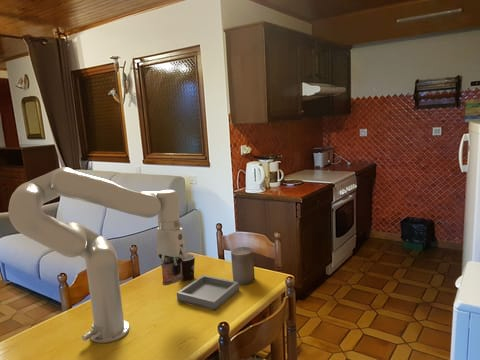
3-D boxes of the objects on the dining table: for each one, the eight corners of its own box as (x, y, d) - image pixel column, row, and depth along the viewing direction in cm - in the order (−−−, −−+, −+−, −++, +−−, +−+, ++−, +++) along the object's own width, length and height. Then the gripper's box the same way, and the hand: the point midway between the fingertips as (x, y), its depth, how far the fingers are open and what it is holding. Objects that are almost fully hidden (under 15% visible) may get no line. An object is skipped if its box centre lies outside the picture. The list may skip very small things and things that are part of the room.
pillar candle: (256, 275, 163) (253, 243, 160) (253, 285, 153) (251, 251, 151) (234, 275, 164) (232, 244, 162) (231, 285, 155) (228, 251, 152)
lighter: (165, 286, 128) (163, 259, 127) (160, 283, 131) (158, 257, 129) (184, 279, 134) (183, 253, 132) (179, 276, 136) (178, 251, 135)
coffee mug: (186, 272, 170) (185, 252, 168) (200, 276, 165) (198, 255, 163) (168, 282, 161) (166, 261, 159) (182, 286, 156) (180, 264, 154)
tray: (214, 310, 134) (214, 302, 134) (177, 301, 144) (176, 292, 143) (239, 290, 150) (238, 282, 149) (203, 282, 159) (203, 274, 158)
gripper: (194, 224, 128) (197, 273, 131) (158, 219, 136) (162, 265, 139) (180, 230, 121) (183, 281, 124) (144, 224, 130) (147, 272, 133)
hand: (172, 272), depth 132 cm, fingers closed on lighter, 4 cm apart
